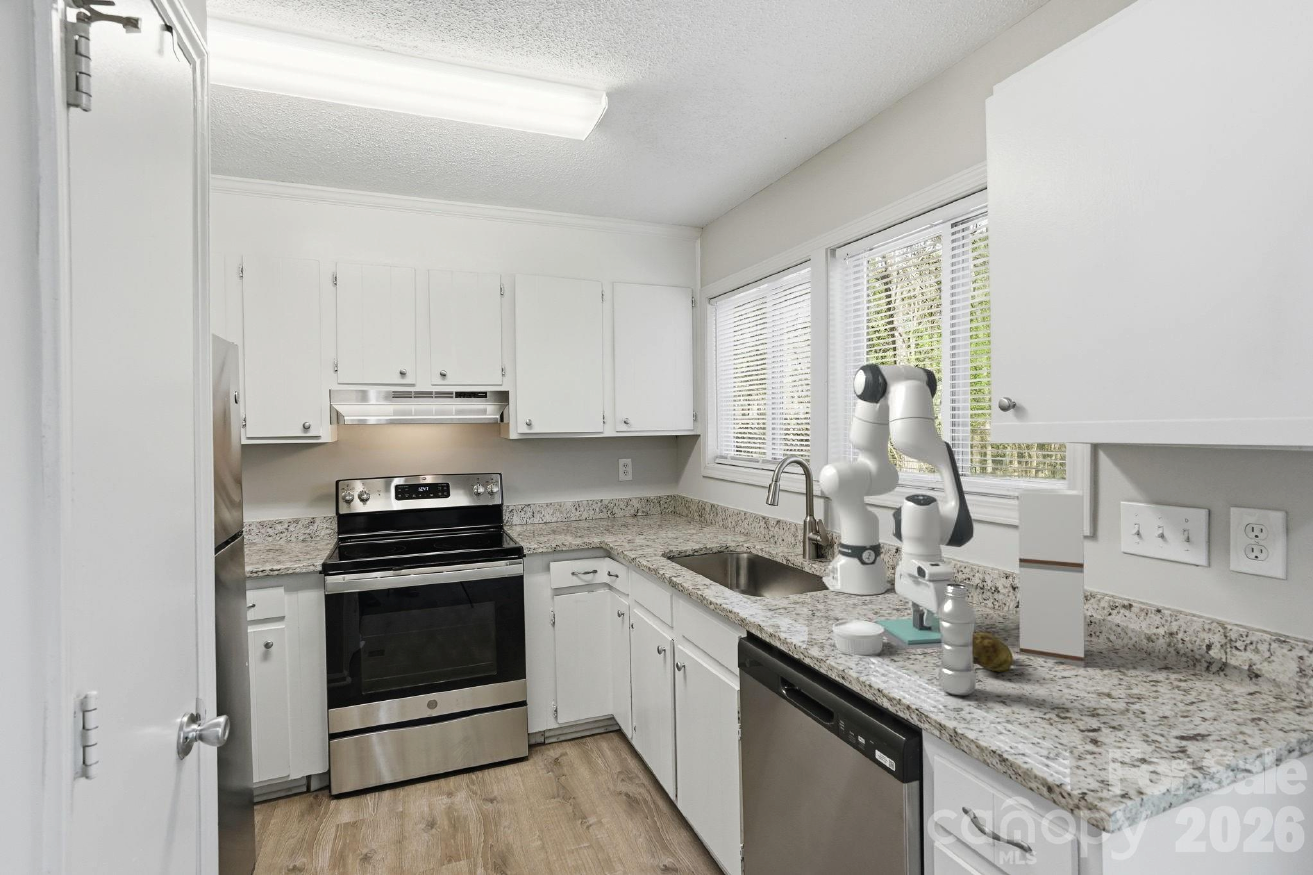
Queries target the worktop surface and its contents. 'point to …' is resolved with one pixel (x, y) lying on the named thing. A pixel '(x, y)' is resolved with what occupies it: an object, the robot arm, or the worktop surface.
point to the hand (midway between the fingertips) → (922, 622)
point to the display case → (1051, 575)
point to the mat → (909, 646)
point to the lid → (913, 629)
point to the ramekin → (858, 637)
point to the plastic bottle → (957, 641)
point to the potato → (991, 653)
